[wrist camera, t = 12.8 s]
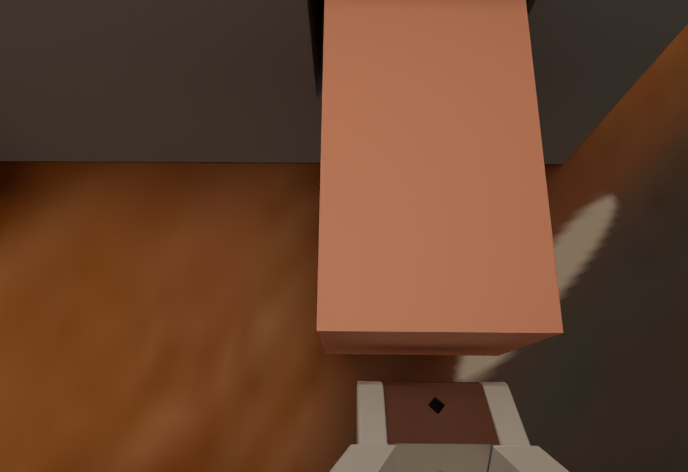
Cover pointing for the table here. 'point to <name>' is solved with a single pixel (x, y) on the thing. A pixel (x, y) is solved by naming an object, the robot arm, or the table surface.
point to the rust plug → (432, 181)
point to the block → (264, 76)
